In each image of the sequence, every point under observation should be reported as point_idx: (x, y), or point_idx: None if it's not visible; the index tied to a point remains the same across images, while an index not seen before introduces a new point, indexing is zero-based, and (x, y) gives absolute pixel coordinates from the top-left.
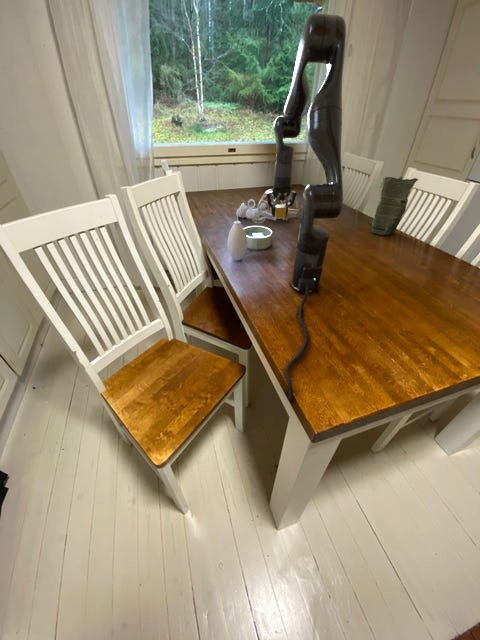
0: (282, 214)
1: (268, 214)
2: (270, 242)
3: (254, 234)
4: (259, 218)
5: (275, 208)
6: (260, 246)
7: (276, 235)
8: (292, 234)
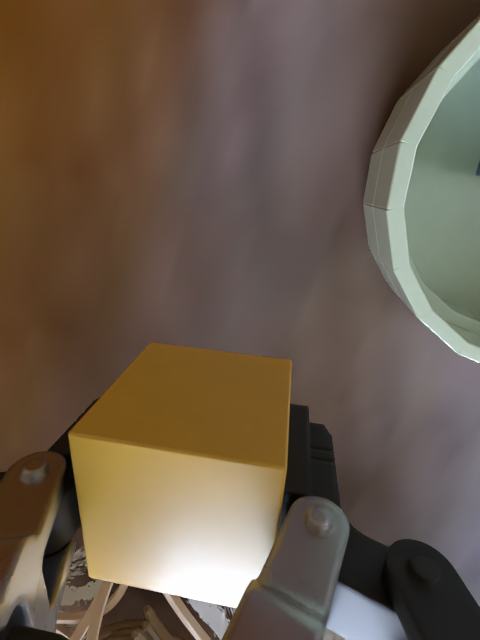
0: (179, 370)
1: (218, 610)
2: (429, 66)
3: None
4: None
5: (285, 488)
6: None
7: (256, 320)
8: (123, 308)
